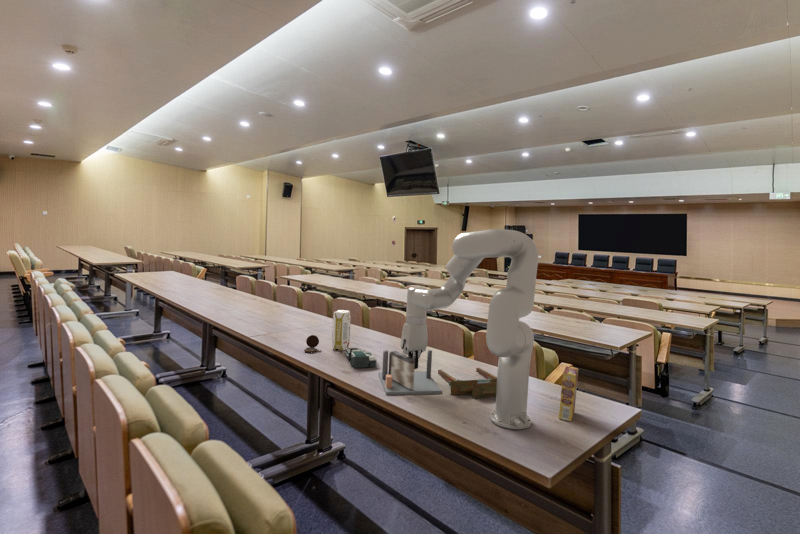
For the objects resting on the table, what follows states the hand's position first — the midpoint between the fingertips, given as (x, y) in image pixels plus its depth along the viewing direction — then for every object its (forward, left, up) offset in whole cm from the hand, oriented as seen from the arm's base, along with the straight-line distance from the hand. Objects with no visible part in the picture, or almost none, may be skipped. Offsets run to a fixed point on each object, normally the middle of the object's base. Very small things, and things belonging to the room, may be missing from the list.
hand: (413, 367), depth 153 cm
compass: (+51, +39, -8) cm, 64 cm away
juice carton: (+55, +25, -8) cm, 61 cm away
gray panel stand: (+4, +1, -7) cm, 8 cm away
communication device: (+35, +18, -8) cm, 40 cm away
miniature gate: (+1, -25, -8) cm, 26 cm away
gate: (+1, +5, -6) cm, 8 cm away
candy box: (-29, -46, -8) cm, 55 cm away
